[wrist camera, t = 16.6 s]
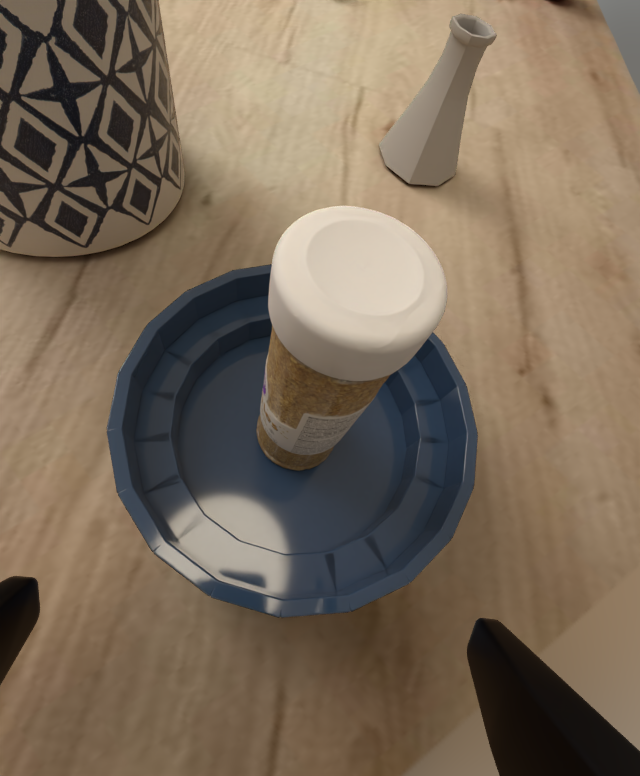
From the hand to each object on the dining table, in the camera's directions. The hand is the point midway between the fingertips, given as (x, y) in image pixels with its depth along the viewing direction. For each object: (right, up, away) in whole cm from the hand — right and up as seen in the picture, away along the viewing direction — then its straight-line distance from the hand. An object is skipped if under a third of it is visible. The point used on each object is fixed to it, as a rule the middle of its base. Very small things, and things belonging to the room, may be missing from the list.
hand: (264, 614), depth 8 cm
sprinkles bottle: (0, +2, +14) cm, 14 cm away
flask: (+10, +26, +27) cm, 39 cm away
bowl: (0, +2, +14) cm, 14 cm away
